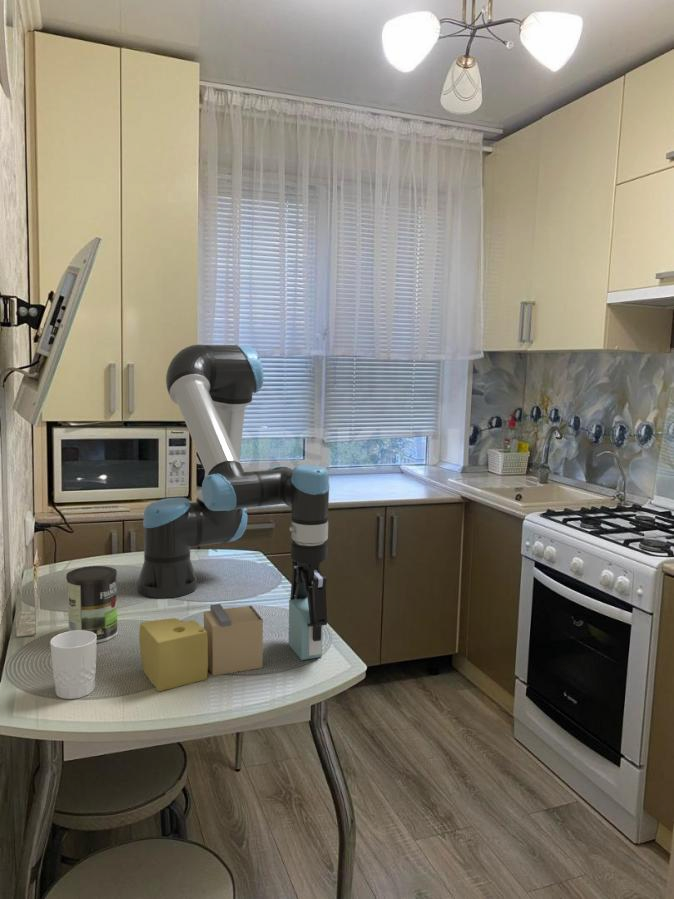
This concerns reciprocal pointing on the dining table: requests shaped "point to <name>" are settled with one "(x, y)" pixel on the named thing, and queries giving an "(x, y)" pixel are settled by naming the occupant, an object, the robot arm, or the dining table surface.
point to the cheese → (173, 652)
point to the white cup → (74, 663)
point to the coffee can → (93, 601)
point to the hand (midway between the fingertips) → (307, 645)
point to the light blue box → (299, 628)
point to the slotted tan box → (233, 639)
